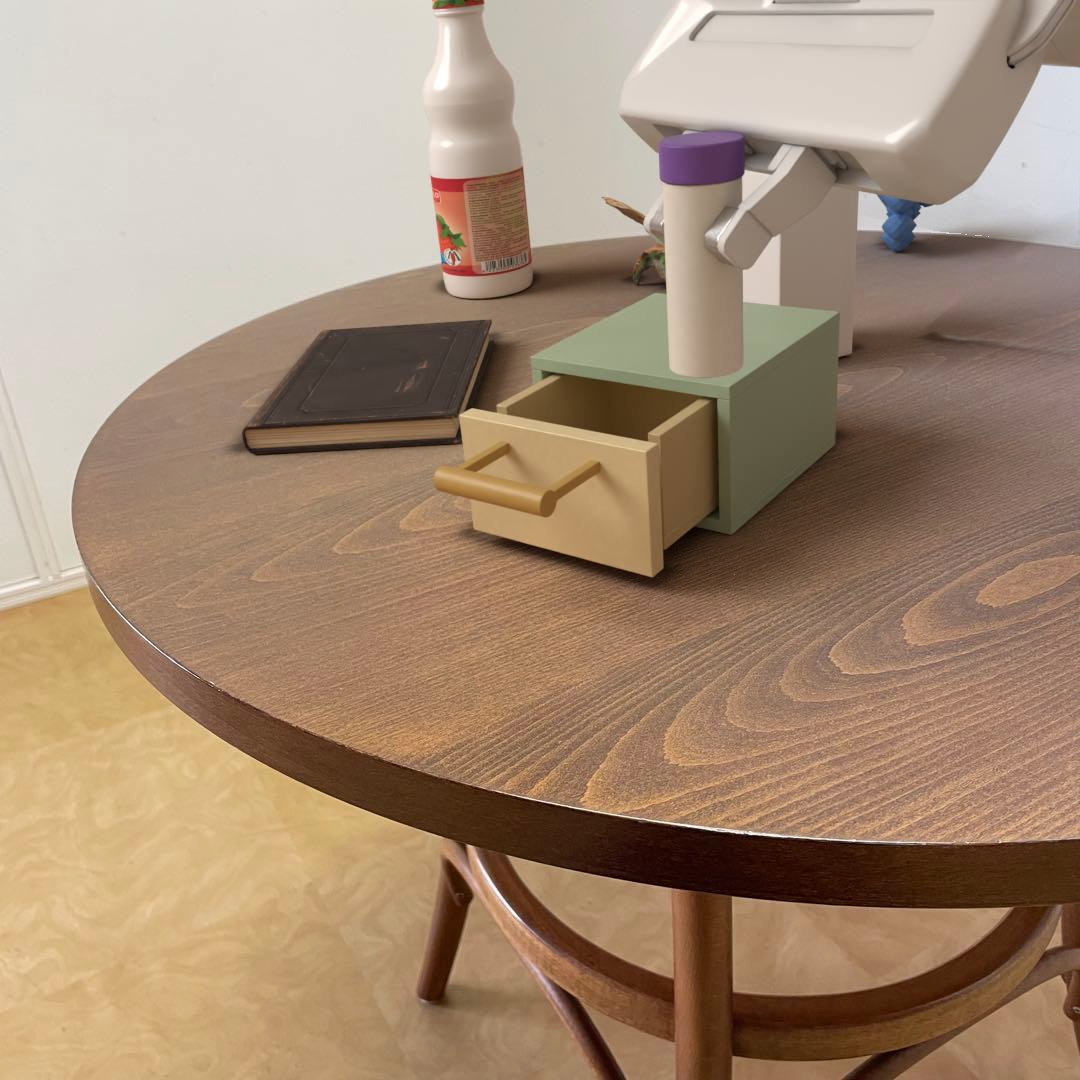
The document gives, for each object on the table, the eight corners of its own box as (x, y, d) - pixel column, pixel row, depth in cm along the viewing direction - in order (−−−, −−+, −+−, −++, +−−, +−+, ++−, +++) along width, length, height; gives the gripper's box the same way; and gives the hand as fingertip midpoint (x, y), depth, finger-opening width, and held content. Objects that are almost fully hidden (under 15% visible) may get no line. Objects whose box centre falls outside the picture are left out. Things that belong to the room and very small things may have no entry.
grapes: (943, 265, 111) (952, 137, 106) (871, 266, 113) (877, 141, 108) (939, 236, 121) (948, 119, 116) (874, 238, 123) (879, 122, 118)
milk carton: (778, 374, 88) (781, 117, 79) (728, 351, 94) (726, 110, 85) (852, 356, 90) (863, 104, 82) (799, 334, 96) (804, 97, 87)
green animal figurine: (764, 333, 118) (796, 263, 115) (725, 342, 105) (760, 263, 102) (617, 263, 123) (644, 194, 120) (562, 263, 110) (592, 186, 107)
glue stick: (759, 358, 49) (759, 131, 45) (722, 383, 47) (719, 146, 43) (691, 349, 51) (684, 130, 47) (652, 373, 49) (642, 145, 45)
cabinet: (731, 535, 65) (729, 386, 61) (542, 491, 73) (529, 356, 69) (835, 444, 75) (840, 311, 71) (660, 414, 83) (655, 292, 79)
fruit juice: (522, 299, 114) (492, -8, 101) (433, 301, 116) (393, 1, 103) (543, 274, 122) (517, -13, 109) (460, 277, 124) (425, -5, 111)
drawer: (594, 627, 56) (584, 494, 53) (410, 570, 63) (391, 450, 60) (768, 481, 69) (768, 367, 66) (600, 447, 76) (592, 343, 73)
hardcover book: (494, 343, 102) (491, 318, 100) (460, 443, 81) (456, 413, 80) (321, 354, 103) (316, 330, 102) (245, 455, 83) (239, 426, 82)
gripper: (1142, 17, 39) (908, 349, 40) (776, 17, 56) (616, 251, 57) (1066, -123, 36) (810, 246, 36) (698, -79, 52) (529, 174, 53)
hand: (690, 249), depth 47 cm, fingers closed on glue stick, 3 cm apart
